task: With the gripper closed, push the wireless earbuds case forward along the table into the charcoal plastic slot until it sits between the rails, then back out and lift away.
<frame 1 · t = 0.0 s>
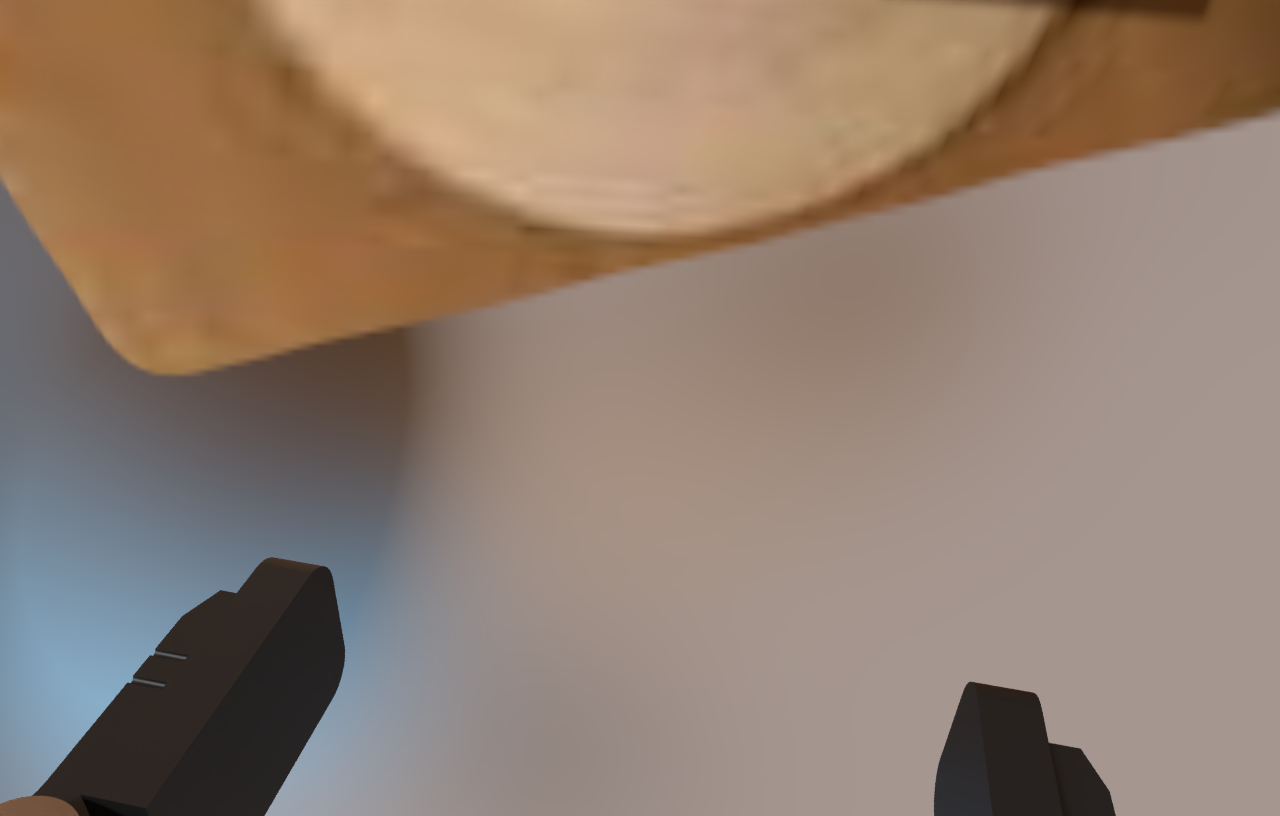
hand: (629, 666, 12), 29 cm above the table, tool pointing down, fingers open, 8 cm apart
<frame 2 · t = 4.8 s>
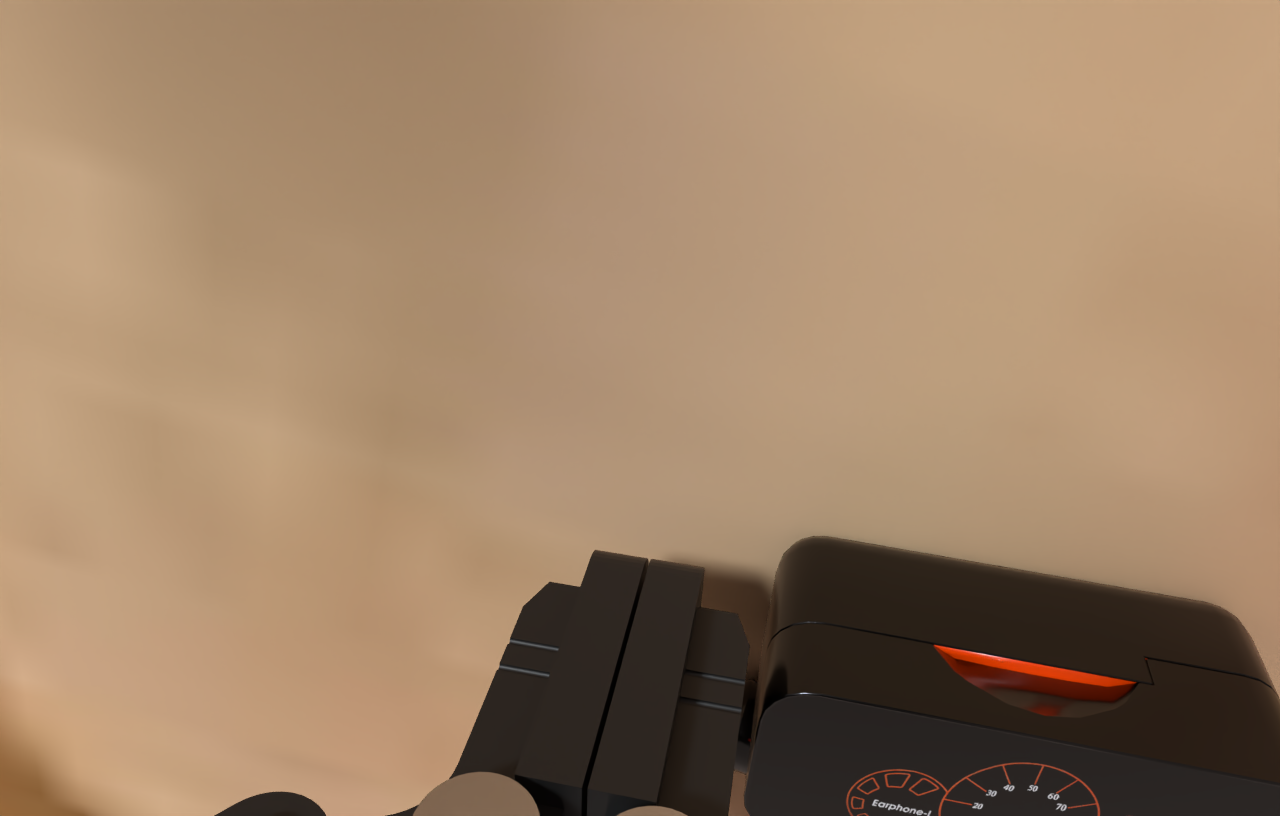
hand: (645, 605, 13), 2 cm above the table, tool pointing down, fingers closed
wireless earbuds: (923, 636, 15), on the table, touching gripper
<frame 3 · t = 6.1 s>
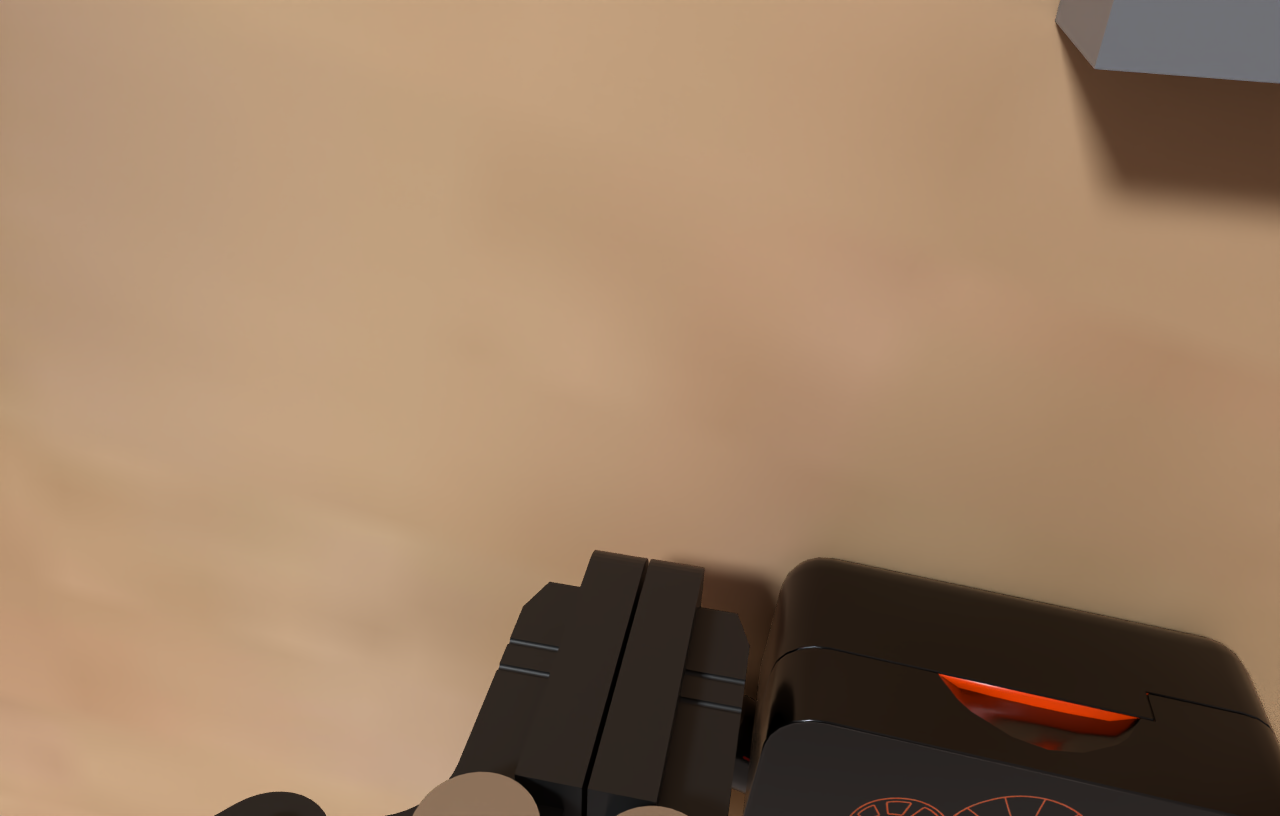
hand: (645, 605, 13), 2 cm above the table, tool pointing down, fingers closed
wireless earbuds: (920, 658, 15), on the table, touching gripper
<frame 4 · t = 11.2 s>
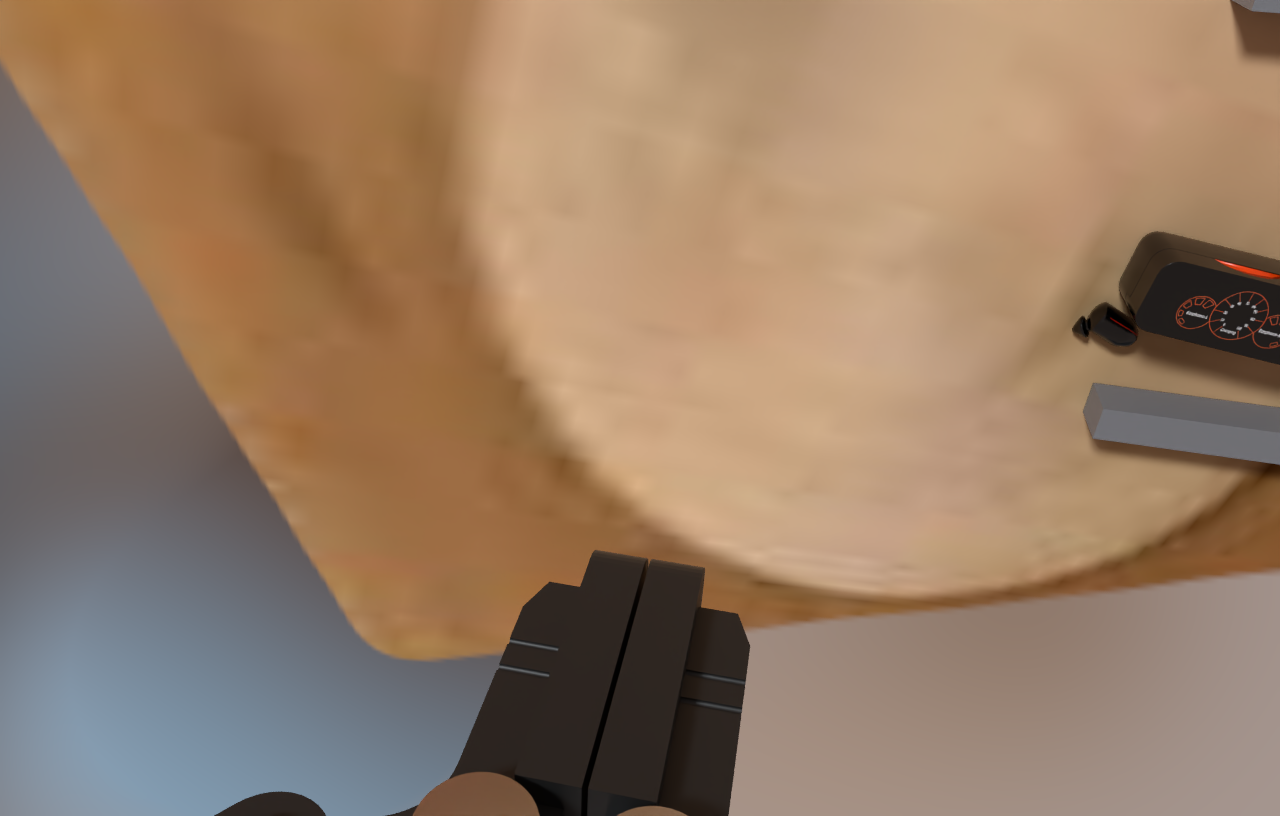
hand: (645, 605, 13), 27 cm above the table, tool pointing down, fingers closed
wireless earbuds: (1179, 286, 37), on the table
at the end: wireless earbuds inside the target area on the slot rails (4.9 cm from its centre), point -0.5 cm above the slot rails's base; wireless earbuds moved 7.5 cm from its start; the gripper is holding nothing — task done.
